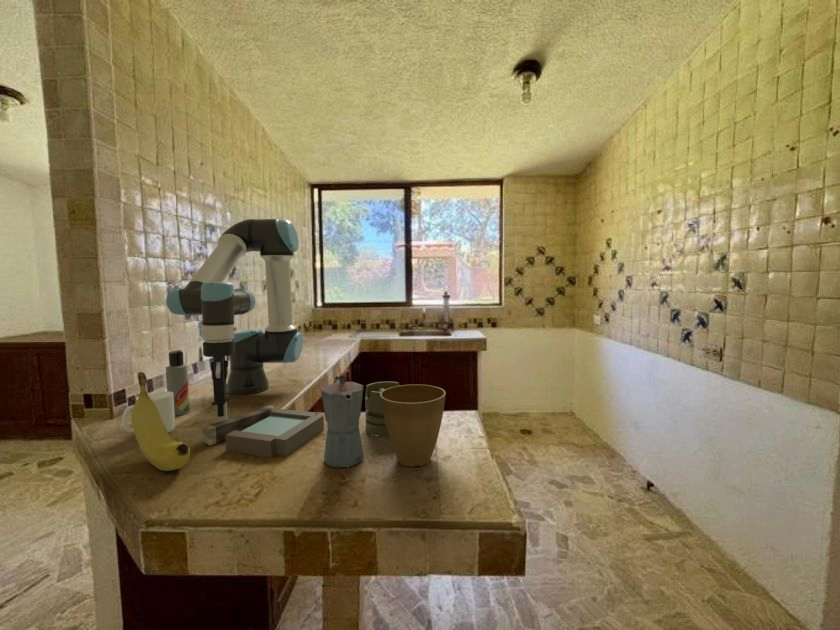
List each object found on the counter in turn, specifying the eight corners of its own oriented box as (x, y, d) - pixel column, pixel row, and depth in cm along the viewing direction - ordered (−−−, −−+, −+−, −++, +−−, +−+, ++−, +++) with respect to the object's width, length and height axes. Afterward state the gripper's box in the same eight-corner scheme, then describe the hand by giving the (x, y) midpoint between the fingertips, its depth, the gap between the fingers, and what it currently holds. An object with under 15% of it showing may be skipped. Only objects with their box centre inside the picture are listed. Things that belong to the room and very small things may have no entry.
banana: (200, 473, 80) (196, 382, 78) (170, 485, 75) (164, 388, 73) (156, 447, 92) (152, 368, 91) (128, 456, 88) (123, 373, 86)
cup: (181, 429, 104) (179, 394, 103) (130, 445, 94) (128, 406, 93) (166, 423, 108) (164, 389, 107) (116, 438, 98) (113, 401, 97)
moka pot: (330, 479, 77) (328, 385, 75) (314, 450, 91) (312, 370, 89) (373, 468, 81) (372, 379, 80) (352, 442, 95) (351, 365, 93)
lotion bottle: (193, 411, 118) (189, 350, 117) (173, 417, 113) (170, 353, 112) (184, 408, 121) (181, 348, 120) (165, 413, 116) (161, 351, 115)
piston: (398, 380, 111) (411, 389, 100) (398, 419, 112) (411, 432, 101) (361, 383, 107) (370, 394, 96) (361, 424, 108) (371, 439, 97)
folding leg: (269, 419, 111) (269, 404, 110) (277, 421, 109) (276, 406, 109) (203, 442, 95) (202, 425, 94) (210, 445, 93) (209, 428, 93)
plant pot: (437, 443, 94) (437, 382, 93) (452, 473, 79) (453, 400, 78) (379, 448, 91) (378, 385, 90) (383, 479, 77) (382, 404, 76)
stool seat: (278, 421, 109) (278, 408, 109) (326, 427, 105) (326, 413, 105) (226, 450, 90) (225, 434, 90) (282, 459, 86) (281, 442, 86)
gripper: (233, 343, 93) (235, 433, 95) (235, 336, 105) (237, 416, 107) (199, 344, 90) (202, 438, 92) (205, 337, 102) (208, 420, 104)
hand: (221, 426), depth 100 cm, fingers closed
